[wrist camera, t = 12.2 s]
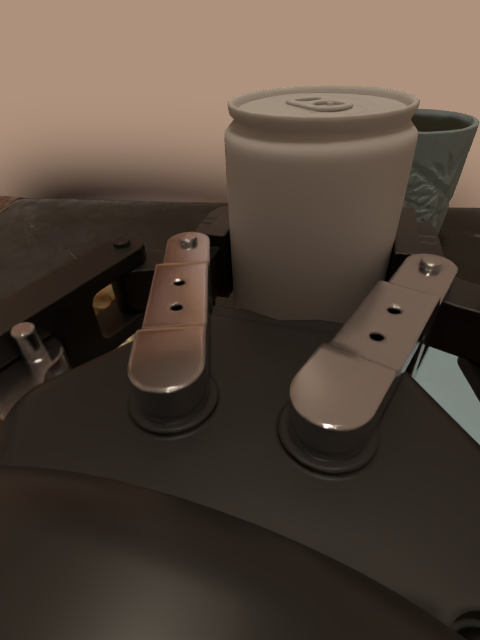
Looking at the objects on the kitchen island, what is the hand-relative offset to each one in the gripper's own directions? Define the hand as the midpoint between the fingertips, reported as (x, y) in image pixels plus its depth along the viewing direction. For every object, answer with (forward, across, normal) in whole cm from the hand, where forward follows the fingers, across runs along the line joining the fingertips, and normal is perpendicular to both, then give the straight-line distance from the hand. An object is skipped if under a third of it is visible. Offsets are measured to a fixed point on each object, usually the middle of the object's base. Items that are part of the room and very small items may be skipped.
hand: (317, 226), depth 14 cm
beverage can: (-3, 0, +8) cm, 8 cm away
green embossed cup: (+27, -5, +13) cm, 31 cm away
